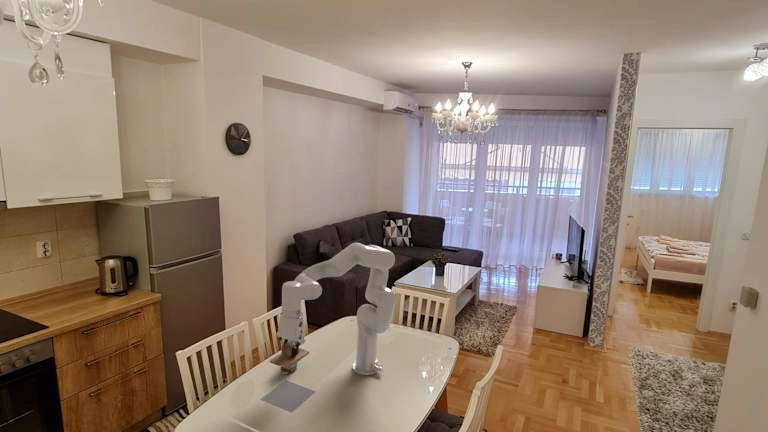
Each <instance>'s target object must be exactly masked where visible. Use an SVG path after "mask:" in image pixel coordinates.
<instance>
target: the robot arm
mask: <svg viewBox="0 0 768 432" xmlns="http://www.w3.org/2000/svg"><path fill="white" fill-rule="evenodd" d="M395 261H396V257H395V254H394V253H393V252H392V251H390V250H388V249H386V248H383V247H381V246H378V245H376V244H368V245H366V244H362V243H360V242H352V243H351V244H349V245H348V246H346V247H345V248H344V249H342V250H340V252H338V253H337V254H335V255H334V256H332V257H331V258H330V259H328V260H325V261H322V262H318V263H316V264H313V265H311V266H309V267H307V268H305V270H303V271H302V272H300V273H299V274H298V275H297V276H296V277H295V278H294V280H291V281H290V280H289V281H285V282H283V284H282V286H281V314H280V316H279V319H278V320H279V321H278V326H277V327H278V328H277V329H278V331H277V332H276V334H275V335H276V336H277V338H278V339H279V340H280V343H281V346H283V345H284V344H286V343H287V342H289V341H292V342H293V348H292V357H293V358H294V357H295V356H296V355H298V346H299V347H301V346H302V345H304V344H306V339H305V322H304V317H303V315H304V312H302V301H310V300H316V299H318V298H319V297H320V296H321V295H322V292H323V287H322V285H321V284H320V283H319V282H317V281H318V280H321V279H324V278H332V277H333V278H335V277H336V278H337V277H338V278H339V277H342V276H343V275H344V274H346V273H347V272H348V271H350V270H351V269H352V268H353V267H355V266H356V265H359V266H362V267H366V268H370V269H369V270H370V273H369V277H368V282H367V286H366V290H365V294H364V296H365V299H366V300H367V301H368V302H369V303H370V304H368V303H364V304H362V305H360V306H359V307H358V308H357V309H358V310H357V312H356V323H357V338H356V354H355V355H356V356H355V361H354V362H353V363H352V370H353V372H354V373H356V374H357V375H361V376H372V375H375V374H376V373H378V371H379V372H383V371H384V368H383V364H381V363H380V364H379V360H378V359H377V351H378V339H379V337H378V336H379V334H384V333H385V332H387V331H388V329H389V328H390V325H391V322H392V318H393V315H394V313H395V307H396V302H397V298H396V293H395V292H394V291H393V290H392V289H390V288H389V287H387V283H388V279H389V269H391V268H392V267H393V266H394V265H395V263H396V262H395ZM374 305H375V306H374Z"/></svg>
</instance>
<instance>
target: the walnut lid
mask: <svg viewBox="0 0 768 432" xmlns="http://www.w3.org/2000/svg"><path fill="white" fill-rule="evenodd" d="M292 348H293V342H292V341H290V340H288V342H287V343H286V344H284V345H281V352H280V353H279V354H277V355H275V356H274V357H272V358H271V359H270V360H269V363H270V364H273V365H276V366H278V367H280V368H281V367H284V368H286V369H289V368H290V367H291V366H293V365H294V364H296V363H297V364H298V362H300V361H301V360H303V359H304V358H306V357H307V356H308V355H309V354H310V351H309V350H306V349H304V348H301V347H300V346H298V355H296V356H295V357H294V358H293V357H292Z"/></svg>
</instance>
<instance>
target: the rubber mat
mask: <svg viewBox="0 0 768 432" xmlns="http://www.w3.org/2000/svg"><path fill="white" fill-rule="evenodd" d="M315 393H317V392H316V390H313V389H311V388H309V387H308V388H307V387H305V386H303V385H301V384H299V383H295V382H292V381H290V380H287V379H286V380H284V381H282V383H280V384H279V385H277V386H276V387H275V388H273V389H272V390H271V391H269V392H268V393H267V394H265V395H264V396H263V397H261V398H260V400H261V401H264V402H266V403H267V404H268V403H269V404H270V405H272V406H275V407H278V408H280V409H283V410H286V411H287V412H289V413H293V412H294V411H296V410H297V409H298V408H299V407H300V406H301V405H302V404H303V403H305V402H306V401H308V399H309V398H310V397H312V395H314V394H315Z"/></svg>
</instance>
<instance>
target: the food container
mask: <svg viewBox="0 0 768 432" xmlns="http://www.w3.org/2000/svg"><path fill="white" fill-rule="evenodd" d="M297 367H298V362H297V363H296V364H294V365H293V366H291V367H290V368H289V369H286V368H284V367H281V366H280V374H281V375H290V374H293V373H294V372H296V371H297Z"/></svg>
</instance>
